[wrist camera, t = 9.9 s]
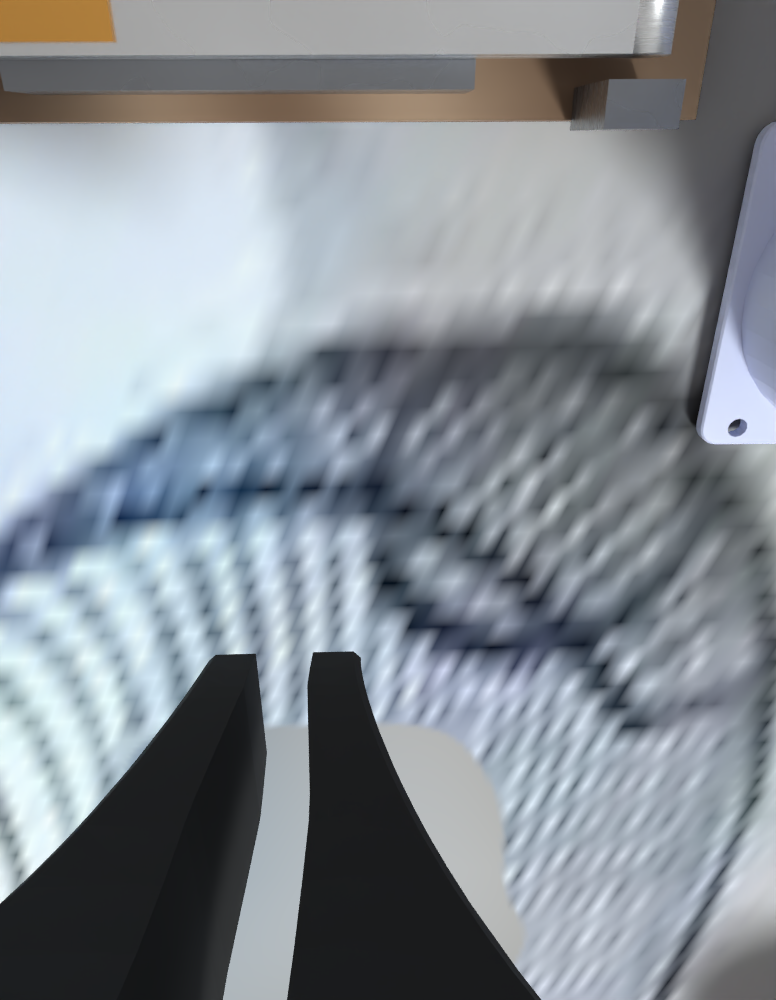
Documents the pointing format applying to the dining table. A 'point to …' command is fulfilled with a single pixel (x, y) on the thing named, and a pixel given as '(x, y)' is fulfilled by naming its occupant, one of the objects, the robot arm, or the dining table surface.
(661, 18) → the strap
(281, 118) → the board
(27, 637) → the dining table surface
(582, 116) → the hardware
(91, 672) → the dining table surface
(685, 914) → the dining table surface
